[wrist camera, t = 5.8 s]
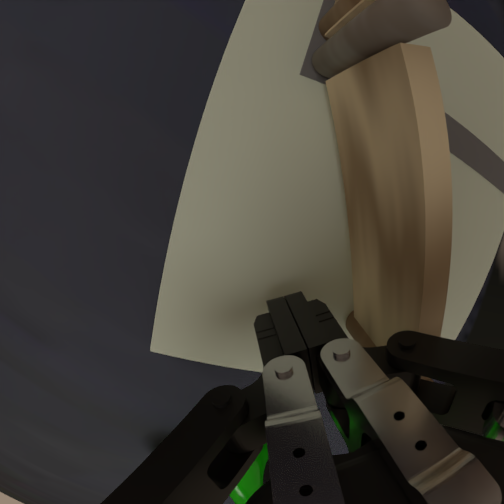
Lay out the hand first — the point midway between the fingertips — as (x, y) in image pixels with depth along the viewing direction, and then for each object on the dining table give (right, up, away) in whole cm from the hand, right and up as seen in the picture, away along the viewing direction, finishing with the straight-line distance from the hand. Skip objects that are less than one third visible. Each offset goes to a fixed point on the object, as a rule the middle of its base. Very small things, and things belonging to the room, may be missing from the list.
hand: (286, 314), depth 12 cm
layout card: (+6, +6, 0) cm, 8 cm away
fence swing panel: (+3, +5, 0) cm, 5 cm away
